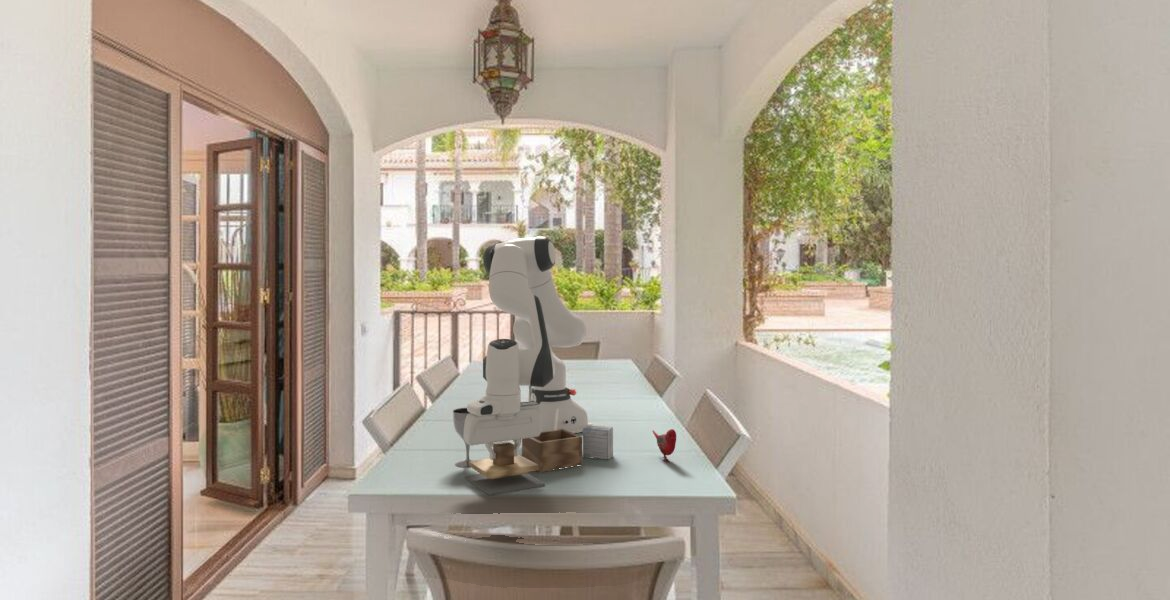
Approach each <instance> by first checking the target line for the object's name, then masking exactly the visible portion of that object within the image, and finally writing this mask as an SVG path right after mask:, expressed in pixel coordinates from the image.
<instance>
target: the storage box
mask: <svg viewBox="0 0 1170 600" xmlns="http://www.w3.org/2000/svg"><path fill="white" fill-rule="evenodd" d="M521 456H523V457H525V458H526V459H528V460H530V461H532V462H534V463H536V464H537V465H539V470H537V471H536V472H538V471H539V472H542V473H545V472H544V471H548V472H550V471H549V470H553V469H559V468H565V467H571V466H577V465H582V466H583V436H582V435H581V436H580V435H578V434H577V433H571V432H569V431H566V430H564V429H559V430H552V431H544V432H541V434H540V435H539V436H538V437H532V438H524V439H521ZM539 472H538V473H539Z"/></svg>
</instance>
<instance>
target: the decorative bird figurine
mask: <svg viewBox="0 0 1170 600" xmlns="http://www.w3.org/2000/svg"><path fill="white" fill-rule="evenodd" d="M652 433H653V435H654V437H655V439H656V444H657V447H658V449H659V451H660V453H661V454H662V455H663V457H662V458H663V459H664V461H666V462H667V461H668V463H670V462H671V461H670V460H669V459H668V457H667V456H671V455H672V454H673V453H674V451H675V449H676V444H677V443H676V442H677V432H676V431H675V429H674V428H672V429H669V430H667V431H666V432H665V433H664V434H660V435H659V434H657V432H656V431H655V430H652Z"/></svg>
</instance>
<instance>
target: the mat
mask: <svg viewBox="0 0 1170 600" xmlns="http://www.w3.org/2000/svg"><path fill="white" fill-rule="evenodd" d="M464 479H466V480H467V481H468V482H470V483H471V484H472V485H474V486H475V487H476V488H477V489H479V490H481V491H482V492H484V493H485V494H486V495H488V496H493V495H499V494H506V493H511V492H517V491H523V490H528V488H529V489H534V488H533V487H535V488H539V487H538V486H540V487H544V485H545V482H543V481H541V480H539V479H538V478H536V477H534V476H532V475H531V474H530V473H526V474H520V475H514V476H507V477H501V478H495V479H490V478H486V477H485V476H483V475H482V474H480V473H475V474H467V475H464ZM545 486H546V485H545Z"/></svg>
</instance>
